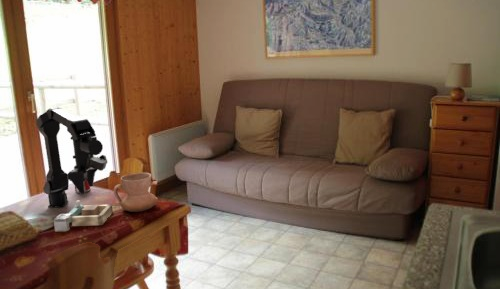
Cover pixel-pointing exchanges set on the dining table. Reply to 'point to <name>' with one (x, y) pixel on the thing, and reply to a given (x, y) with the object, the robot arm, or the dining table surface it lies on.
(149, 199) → the ceramic jug
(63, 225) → the grey hooked piece
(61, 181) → the robot arm
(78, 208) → the link
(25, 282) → the dining table surface
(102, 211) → the cream c-clamp frame
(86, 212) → the light wood block
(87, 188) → the soda can
